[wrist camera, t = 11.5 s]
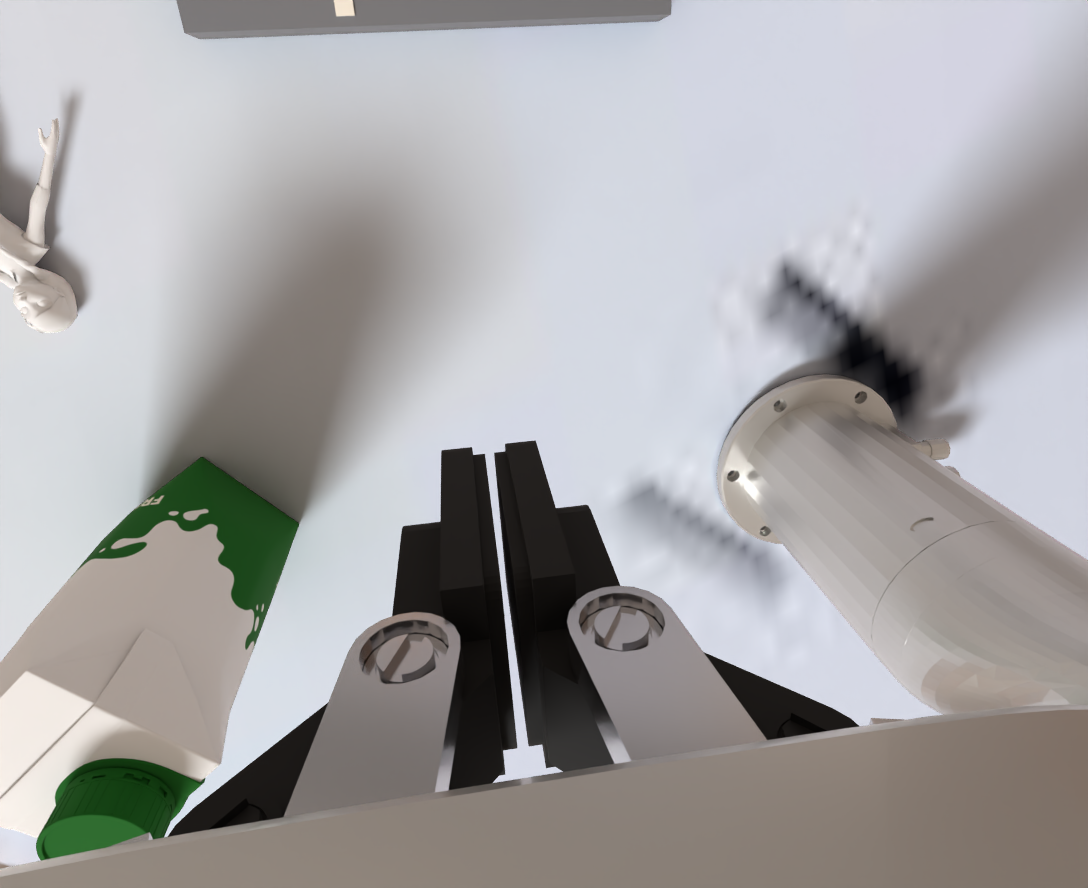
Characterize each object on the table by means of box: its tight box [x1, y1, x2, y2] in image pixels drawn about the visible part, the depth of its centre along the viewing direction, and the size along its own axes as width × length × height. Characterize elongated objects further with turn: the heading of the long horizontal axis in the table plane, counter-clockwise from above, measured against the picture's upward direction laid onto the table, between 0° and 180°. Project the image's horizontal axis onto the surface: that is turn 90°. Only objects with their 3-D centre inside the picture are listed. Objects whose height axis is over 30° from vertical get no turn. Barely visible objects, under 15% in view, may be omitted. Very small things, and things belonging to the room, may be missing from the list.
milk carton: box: [0, 457, 299, 860], centre depth 32 cm, size 9×9×20 cm
